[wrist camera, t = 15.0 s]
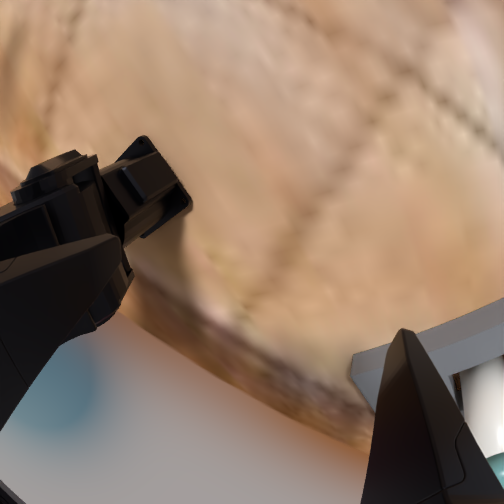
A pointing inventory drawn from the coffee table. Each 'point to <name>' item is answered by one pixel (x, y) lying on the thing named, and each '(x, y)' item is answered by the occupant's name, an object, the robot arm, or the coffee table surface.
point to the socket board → (441, 350)
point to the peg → (486, 410)
